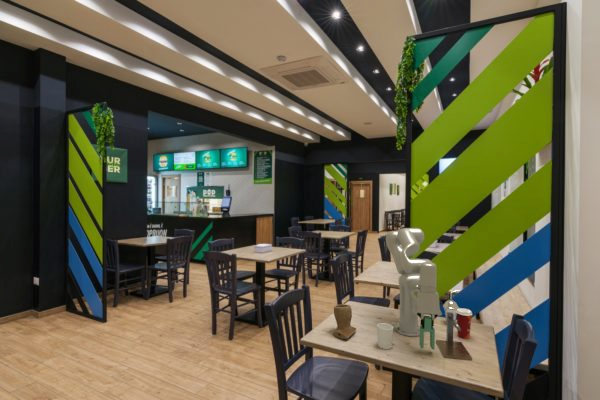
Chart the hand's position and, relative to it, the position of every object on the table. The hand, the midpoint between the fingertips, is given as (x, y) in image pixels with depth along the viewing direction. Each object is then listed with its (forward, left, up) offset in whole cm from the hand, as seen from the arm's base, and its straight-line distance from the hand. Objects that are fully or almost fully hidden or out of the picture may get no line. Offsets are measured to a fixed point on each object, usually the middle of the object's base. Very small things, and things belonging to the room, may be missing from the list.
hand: (427, 326), depth 154 cm
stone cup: (-40, +12, -13) cm, 44 cm away
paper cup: (+23, +22, -12) cm, 34 cm away
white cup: (-19, +2, -12) cm, 23 cm away
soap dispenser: (+21, +38, -12) cm, 45 cm away
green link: (0, 0, -10) cm, 10 cm away
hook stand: (+13, +4, -12) cm, 18 cm away
